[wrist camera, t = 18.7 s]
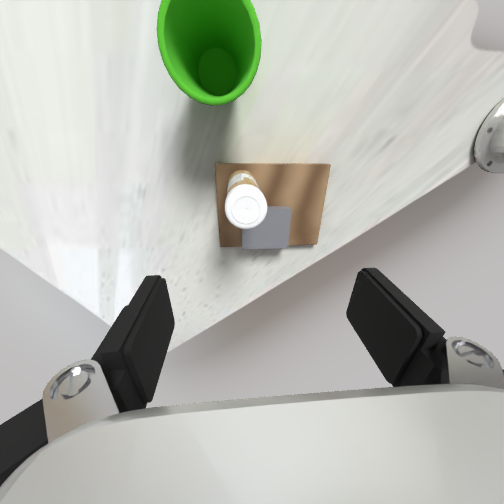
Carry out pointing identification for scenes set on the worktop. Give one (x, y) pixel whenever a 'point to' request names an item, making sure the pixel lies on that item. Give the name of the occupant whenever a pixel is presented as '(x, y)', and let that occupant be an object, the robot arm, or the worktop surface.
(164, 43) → the cup
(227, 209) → the sprinkles bottle
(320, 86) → the worktop surface
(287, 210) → the tile
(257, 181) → the board
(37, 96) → the worktop surface
